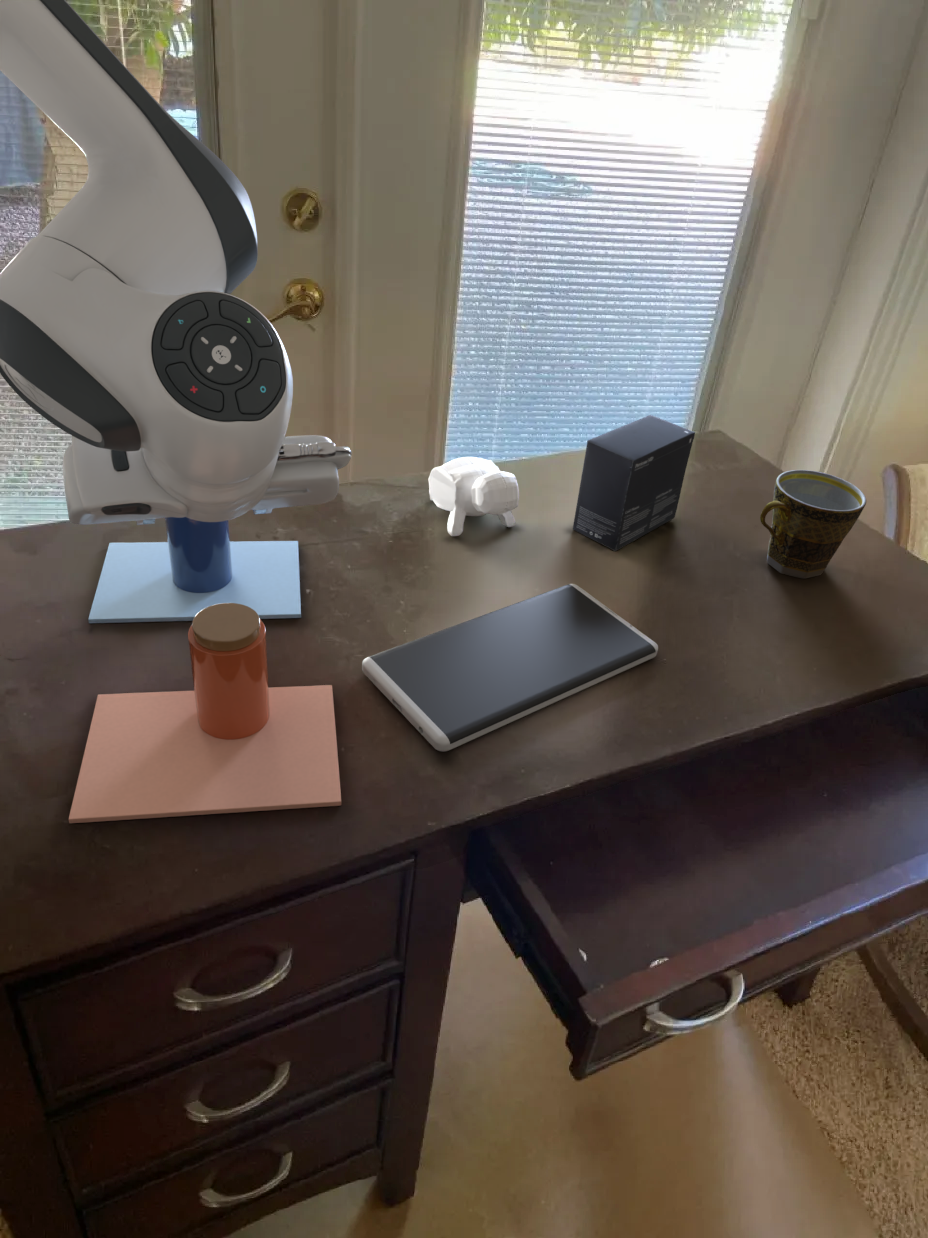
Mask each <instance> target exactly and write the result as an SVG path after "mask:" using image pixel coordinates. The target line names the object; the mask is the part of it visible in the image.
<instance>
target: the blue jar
mask: <svg viewBox="0 0 928 1238" xmlns="http://www.w3.org/2000/svg"><path fill="white" fill-rule="evenodd" d="M164 522H165V523H164V524H165V530H166V538H167V542H168V548H169V556H170V564H171V572H172V580H173V583H174V584H175V585H176V586H177V587H178V588H180V589H181V590H184V591H187V592H192V593H208V592H213V591H216V590H219V589H221V588H223V587H225V586H226V585H228V584H229V582H230V581H231V579H232V563H231V549H230V542H231V539H230V538H231V537H230V525H229V524H230V523H229V520H227V521H221V522H202V521H197V520H193V519H190V518H187V517H182V518H176V517H167V518H164Z"/></svg>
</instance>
